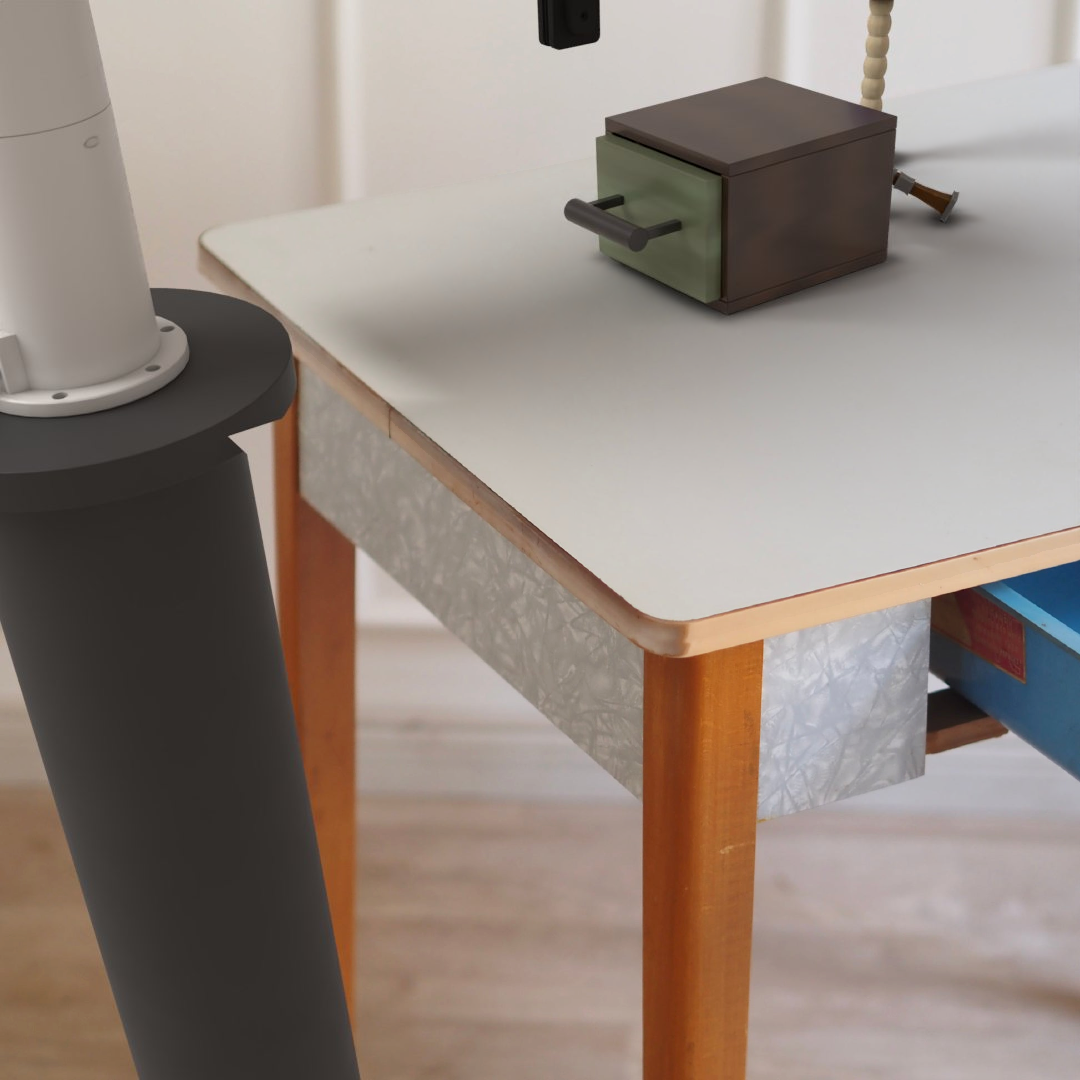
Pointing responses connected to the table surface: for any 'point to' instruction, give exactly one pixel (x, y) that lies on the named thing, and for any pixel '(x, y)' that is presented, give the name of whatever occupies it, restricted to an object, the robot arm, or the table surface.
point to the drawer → (656, 215)
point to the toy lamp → (876, 53)
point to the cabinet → (781, 181)
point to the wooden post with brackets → (925, 194)
